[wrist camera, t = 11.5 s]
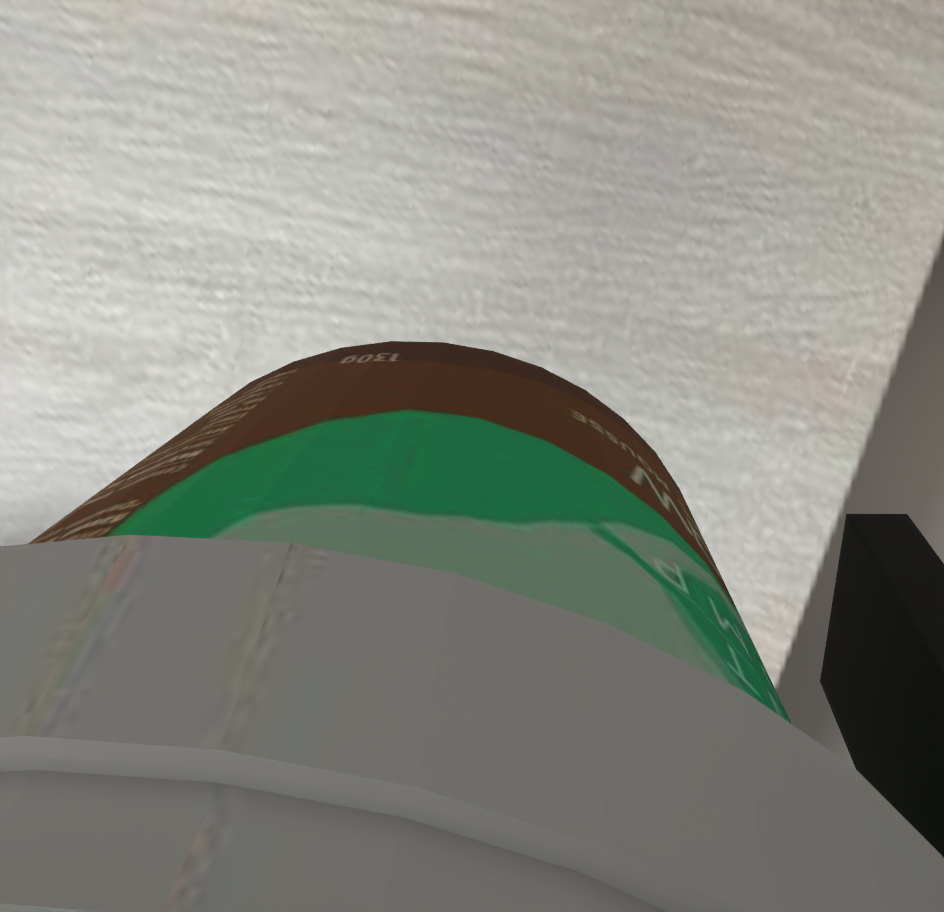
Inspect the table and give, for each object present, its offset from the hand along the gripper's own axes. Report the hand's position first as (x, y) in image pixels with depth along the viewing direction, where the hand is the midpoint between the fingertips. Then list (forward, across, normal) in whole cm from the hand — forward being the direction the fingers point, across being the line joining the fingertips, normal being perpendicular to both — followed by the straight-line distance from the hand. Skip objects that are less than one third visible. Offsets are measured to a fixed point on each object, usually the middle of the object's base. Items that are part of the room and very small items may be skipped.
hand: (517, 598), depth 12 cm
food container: (+2, 0, 0) cm, 2 cm away
